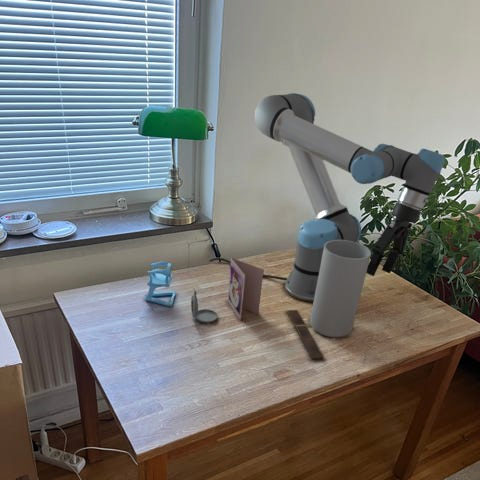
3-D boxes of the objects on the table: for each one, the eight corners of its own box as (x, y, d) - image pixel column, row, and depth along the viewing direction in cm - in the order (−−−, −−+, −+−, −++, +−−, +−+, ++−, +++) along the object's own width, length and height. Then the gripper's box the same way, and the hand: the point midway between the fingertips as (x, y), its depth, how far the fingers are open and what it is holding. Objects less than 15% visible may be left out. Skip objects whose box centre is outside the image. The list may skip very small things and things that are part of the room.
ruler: (287, 312, 145) (287, 310, 144) (296, 312, 145) (296, 309, 145) (312, 360, 125) (312, 357, 125) (322, 359, 126) (323, 357, 125)
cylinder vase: (302, 318, 143) (315, 241, 129) (337, 313, 147) (354, 238, 134) (322, 341, 133) (340, 261, 120) (359, 335, 137) (380, 256, 124)
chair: (149, 291, 149) (148, 257, 142) (175, 294, 149) (175, 259, 142) (144, 304, 142) (143, 268, 136) (171, 306, 142) (171, 271, 136)
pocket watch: (221, 318, 139) (224, 289, 133) (200, 329, 133) (202, 298, 128) (202, 307, 143) (204, 278, 138) (181, 317, 138) (182, 287, 132)
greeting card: (225, 301, 147) (228, 257, 139) (246, 298, 150) (251, 255, 142) (237, 320, 139) (242, 275, 130) (260, 317, 141) (266, 272, 133)
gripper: (407, 208, 124) (373, 281, 132) (433, 212, 144) (402, 275, 152) (382, 198, 128) (350, 269, 136) (410, 203, 147) (381, 265, 155)
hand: (377, 272), depth 144 cm, fingers open, 13 cm apart
